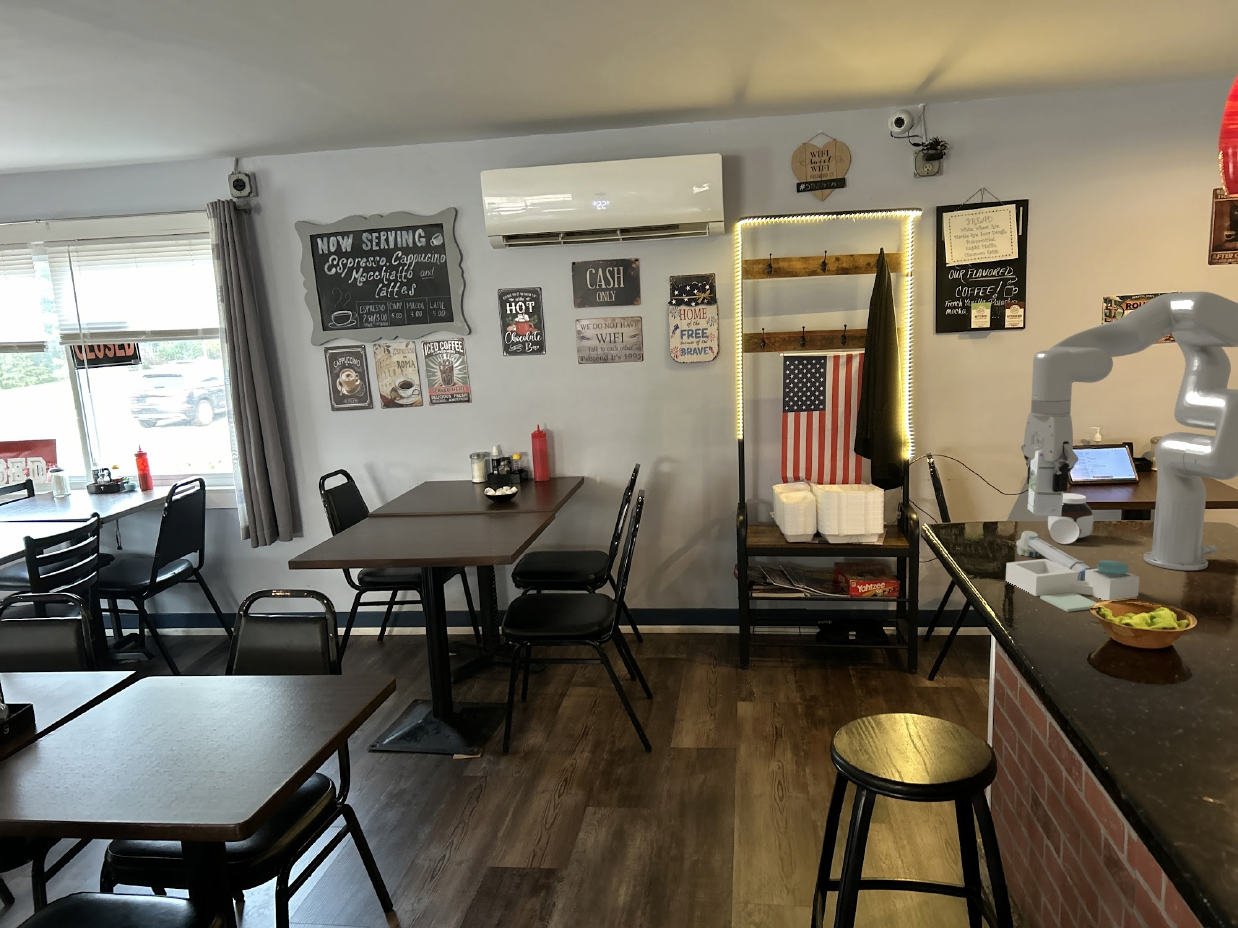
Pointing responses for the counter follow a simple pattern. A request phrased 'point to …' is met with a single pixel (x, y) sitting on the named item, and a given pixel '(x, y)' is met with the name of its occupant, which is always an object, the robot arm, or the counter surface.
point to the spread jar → (1071, 520)
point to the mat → (1069, 601)
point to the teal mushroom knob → (1112, 568)
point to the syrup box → (1043, 488)
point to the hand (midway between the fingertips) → (1046, 487)
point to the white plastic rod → (1049, 553)
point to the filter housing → (1069, 580)
